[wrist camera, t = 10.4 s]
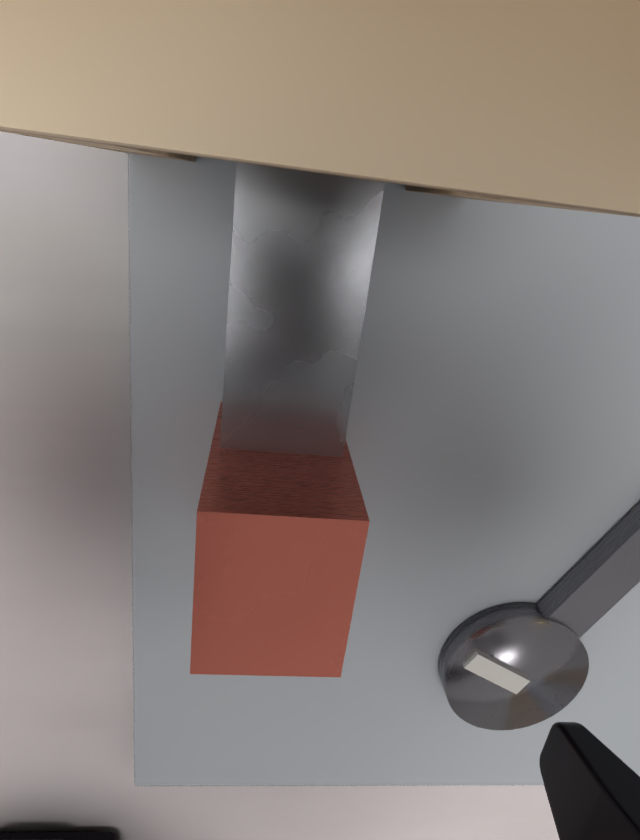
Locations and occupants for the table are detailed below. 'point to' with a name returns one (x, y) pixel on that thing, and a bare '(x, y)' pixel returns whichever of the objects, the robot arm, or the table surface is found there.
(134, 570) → the board
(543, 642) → the metal measuring spoon
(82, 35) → the tan rectangular block
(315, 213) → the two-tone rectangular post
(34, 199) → the table surface
